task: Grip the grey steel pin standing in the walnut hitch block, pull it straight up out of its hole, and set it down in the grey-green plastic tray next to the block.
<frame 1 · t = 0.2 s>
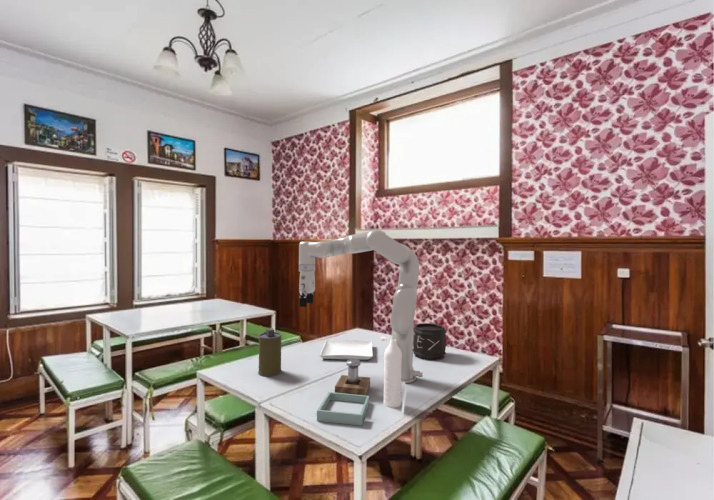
hand: (306, 304, 172), 31 cm above the table, tool pointing down, fingers open, 9 cm apart
black cylinder: (428, 356, 198), on the table
tray: (344, 412, 132), on the table
canister: (269, 372, 170), on the table
steel pin: (352, 391, 147), point 1 cm above the table, touching hitch block
hitch block: (352, 394, 147), on the table
square plate: (347, 354, 200), on the table
water bottle: (389, 405, 138), on the table
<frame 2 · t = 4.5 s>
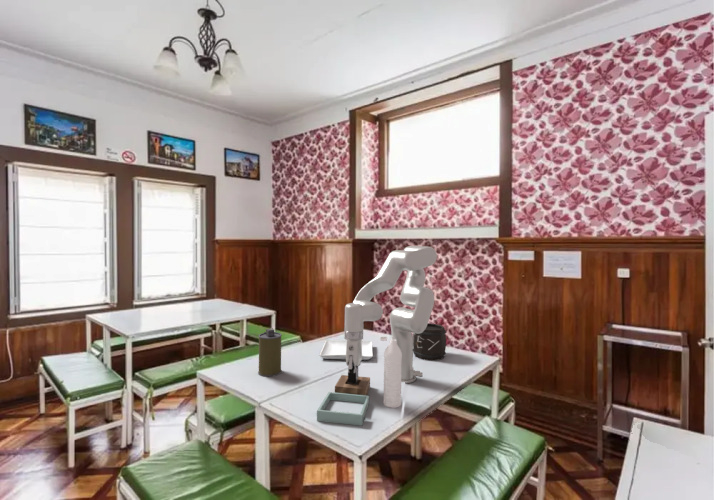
hand: (353, 379, 147), 6 cm above the table, tool pointing down, fingers closed on steel pin, 4 cm apart
steel pin: (352, 391, 147), point 1 cm above the table, touching gripper, hitch block
everything else where it was.
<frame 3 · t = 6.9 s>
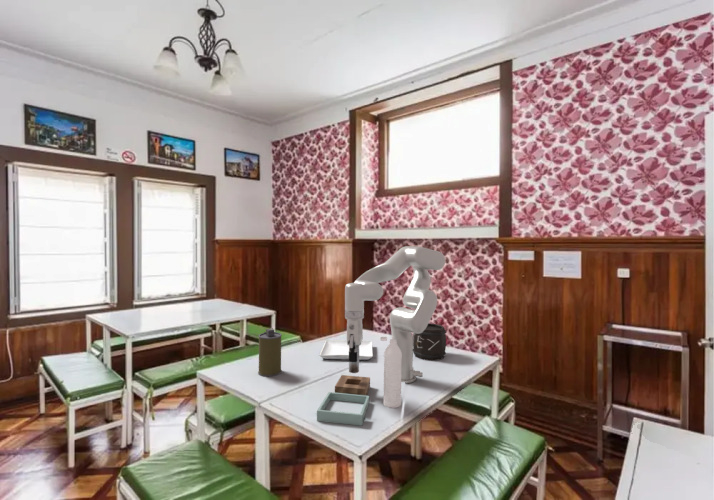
hand: (354, 359, 147), 14 cm above the table, tool pointing down, fingers closed on steel pin, 4 cm apart
steel pin: (353, 371, 147), point 9 cm above the table, touching gripper
everything else where it was.
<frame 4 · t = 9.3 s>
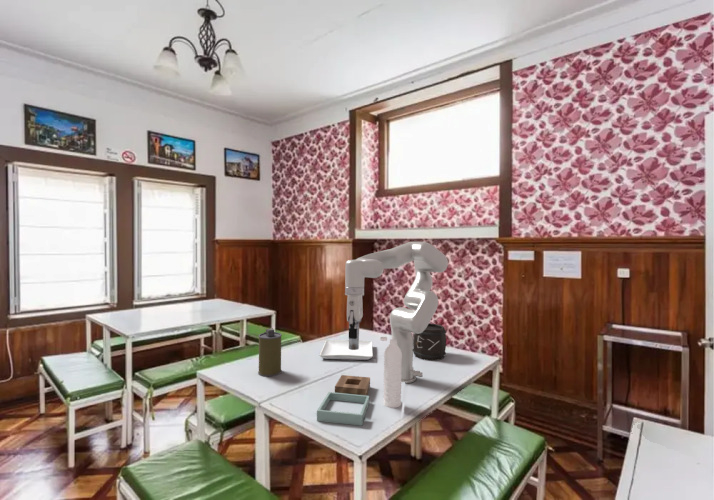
hand: (353, 336, 147), 23 cm above the table, tool pointing down, fingers closed on steel pin, 4 cm apart
steel pin: (353, 348, 147), point 18 cm above the table, touching gripper
everything else where it was.
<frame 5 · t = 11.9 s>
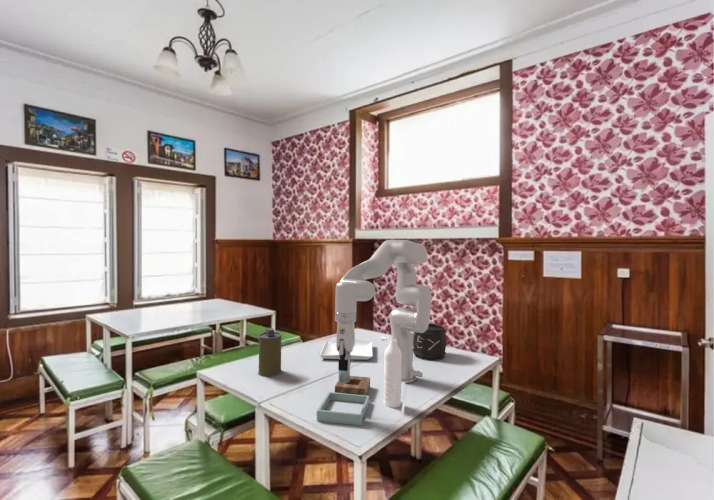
hand: (344, 367, 131), 16 cm above the table, tool pointing down, fingers closed on steel pin, 4 cm apart
steel pin: (344, 380, 131), point 12 cm above the table, touching gripper
everything else where it was.
when the fingers open (7 cm above the table, at t = 14.2 s): steel pin drops 1 cm, resting on tray.
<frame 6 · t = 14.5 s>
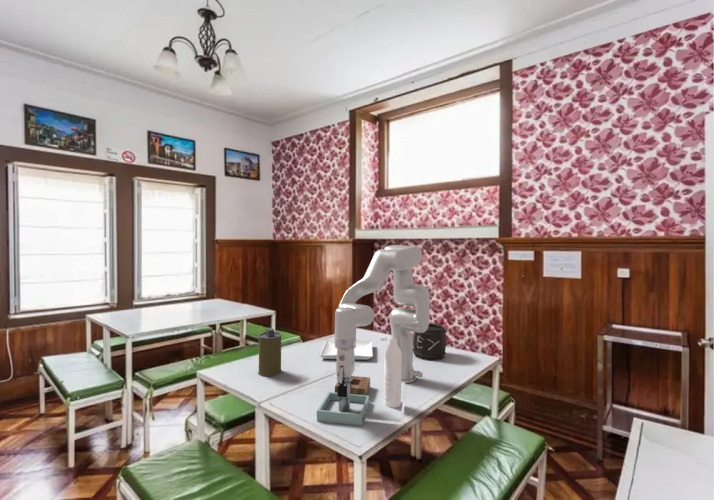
hand: (344, 391, 132), 7 cm above the table, tool pointing down, fingers open, 6 cm apart
steel pin: (344, 410, 132), point 1 cm above the table, touching tray
everything else where it was.
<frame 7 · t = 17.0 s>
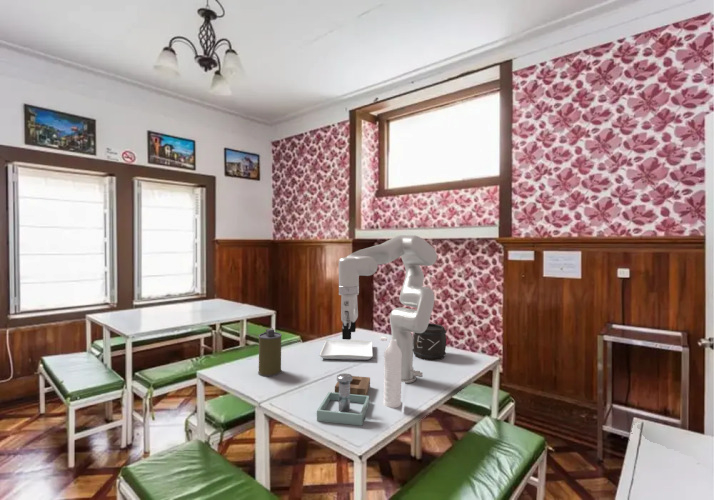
hand: (349, 335, 139), 26 cm above the table, tool pointing down, fingers open, 9 cm apart
nothing on the table moved.
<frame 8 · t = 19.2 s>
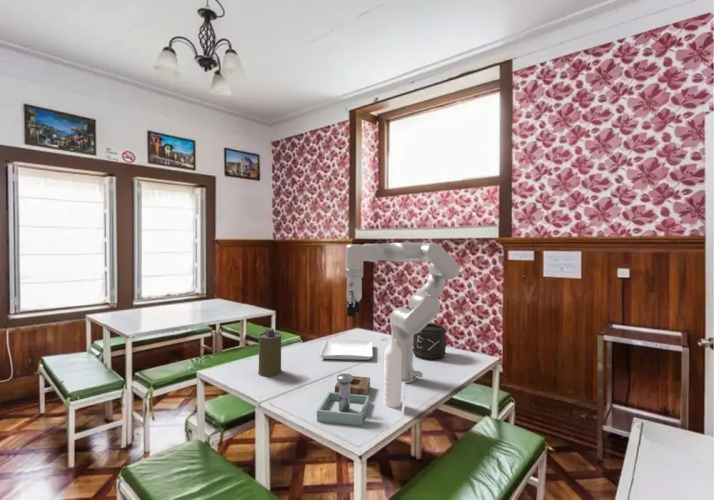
hand: (353, 314, 156), 30 cm above the table, tool pointing down, fingers open, 9 cm apart
nothing on the table moved.
at the end: steel pin inside the target area on the tray (0.1 cm from its centre), point 0.8 cm above the tray's base; the gripper is holding nothing; steel pin moved 15.9 cm from its start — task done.
